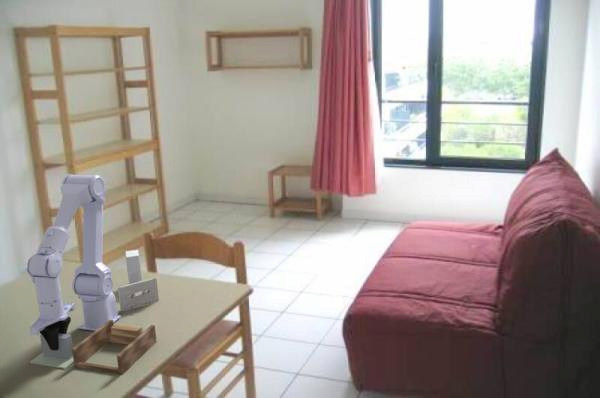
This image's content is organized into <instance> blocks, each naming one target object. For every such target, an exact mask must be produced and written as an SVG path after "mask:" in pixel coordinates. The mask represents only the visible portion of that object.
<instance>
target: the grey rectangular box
mask: <svg viewBox="0 0 600 398" xmlns="http://www.w3.org/2000/svg"><path fill="white" fill-rule="evenodd" d="M39 338H40V343H41V349H42V350H41V351H42V353H43V356H49V357H55V358H62V359H68V360H69V359H71V358H72V357H73V353H72V349H73V347H74V346H73V339H72V334H69V333H67V334H61V333H58V342H59V349H58V350H57V351H55V350H50V348H49V346H48V344H47V342H46V340H45V338H44V337H43V336H42V335H41V334H39Z"/></svg>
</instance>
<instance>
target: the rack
mask: <svg viewBox="0 0 600 398" xmlns="http://www.w3.org/2000/svg"><path fill="white" fill-rule="evenodd" d="M114 325H115V324H114V323H113V320H109V321H108V322H106V323H105V324H104V325H102V326H101V327H100V328H99V329H97V330H96V331H92V332H91V334H90V335H88V336H87V337H85V338H84V339H83V340H82V341H80V342H78V344H76V345H75V346H73V347H74V348H73V349H72V353H73V359H74V363H73V364H74V367H75V368H81V369H88V370H93V371H99V372H100V371H101V372H106V373H112V374H119V375H124V374H125V372H127V371H128V370H129V369H130V368H131V367H133V366H134V365H135V363H136V362H138V360H140V358H141V357H143V356H144V355H145V354H146V353H147V352H148V351H149V350H150V349H151V348H152V347H153V346H154V345H155V344H156V343H157V335H156V334H157V333H156V326H155V325H153V324H150V326H148V328H146V329H145V330H144V331H143V333H142V334H141V335H140V336H138V337H137V338H136V339H135V340H134V341H133V342H132V343H130V344H127V346H126V347H124V349H122V350H121V351H120V352H119V353H118V354H117V355H116V361H117V367H116V366H111V365H103V364H97V363H92V362H86V361H87V360H89V359H90V358H91V357H92V356H94V355H95V354H96V353H97V352H98V351H99V350H101V349H102V348H103V347H105V345H107V344H108V343H109V342H110V336H109V334H110V333H111V327H113V326H114ZM100 348H101V349H100ZM95 352H96V353H95ZM94 353H95V354H94ZM91 355H92V356H91ZM90 356H91V357H90ZM89 357H90V358H89ZM88 358H89V359H88Z"/></svg>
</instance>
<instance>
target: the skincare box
mask: <svg viewBox="0 0 600 398" xmlns="http://www.w3.org/2000/svg"><path fill="white" fill-rule="evenodd" d="M124 253H125V261H126V263H125V264H126V270H127V271H126V272H127V278H128V285H129V284H133V283H136V282H140V281H143V278H142V270H141V263H140V254H139V253H140V252H139V249H133V250H126V251H125V252H124Z"/></svg>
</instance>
